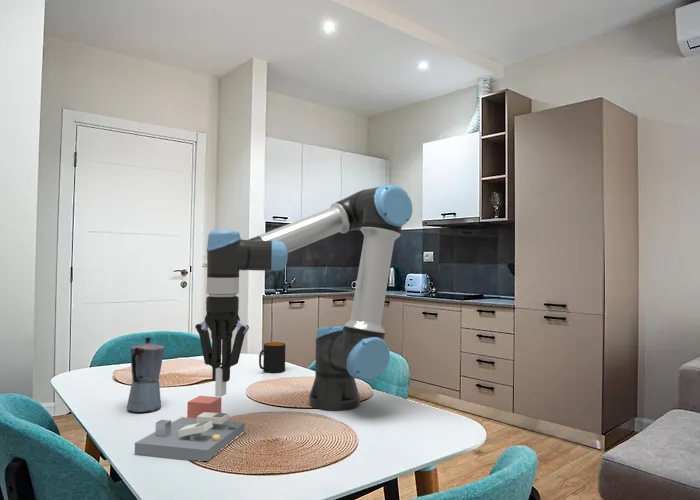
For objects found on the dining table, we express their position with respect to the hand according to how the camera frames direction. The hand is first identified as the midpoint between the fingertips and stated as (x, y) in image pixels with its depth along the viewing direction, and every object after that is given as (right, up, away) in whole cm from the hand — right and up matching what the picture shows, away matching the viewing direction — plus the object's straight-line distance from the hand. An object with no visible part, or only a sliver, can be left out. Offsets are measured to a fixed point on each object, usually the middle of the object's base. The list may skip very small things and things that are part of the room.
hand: (220, 395), depth 121 cm
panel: (-6, -10, -3) cm, 12 cm away
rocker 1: (-4, -6, -7) cm, 10 cm away
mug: (0, -12, +74) cm, 75 cm away
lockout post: (-12, -8, -6) cm, 15 cm away
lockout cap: (-8, -11, +15) cm, 20 cm away
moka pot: (-27, -11, +22) cm, 37 cm away
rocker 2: (-2, -6, +1) cm, 6 cm away
